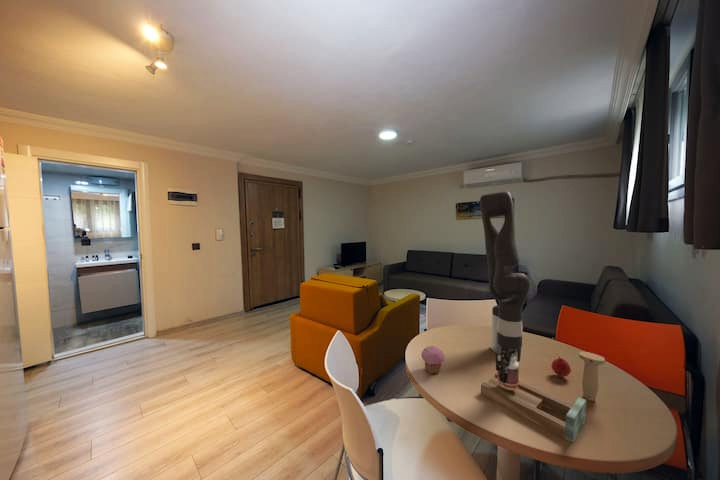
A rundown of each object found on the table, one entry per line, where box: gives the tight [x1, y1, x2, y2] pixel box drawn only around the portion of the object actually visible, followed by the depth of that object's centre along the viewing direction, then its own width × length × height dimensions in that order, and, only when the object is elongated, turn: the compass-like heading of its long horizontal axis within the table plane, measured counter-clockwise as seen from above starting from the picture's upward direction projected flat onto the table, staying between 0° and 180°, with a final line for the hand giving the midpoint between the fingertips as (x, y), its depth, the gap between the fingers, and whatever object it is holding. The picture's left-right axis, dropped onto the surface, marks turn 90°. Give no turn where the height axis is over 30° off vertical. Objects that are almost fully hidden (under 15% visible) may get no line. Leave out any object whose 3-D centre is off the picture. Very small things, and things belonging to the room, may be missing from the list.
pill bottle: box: [497, 355, 520, 390], centre depth 91 cm, size 6×6×11 cm
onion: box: [551, 356, 572, 378], centre depth 101 cm, size 6×6×8 cm
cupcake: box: [421, 345, 445, 374], centre depth 106 cm, size 9×9×10 cm
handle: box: [578, 351, 606, 402], centre depth 89 cm, size 5×6×15 cm
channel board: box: [480, 371, 587, 444], centre depth 86 cm, size 12×26×7 cm, turn 37°
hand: (507, 377), depth 91 cm, fingers closed on pill bottle, 6 cm apart
